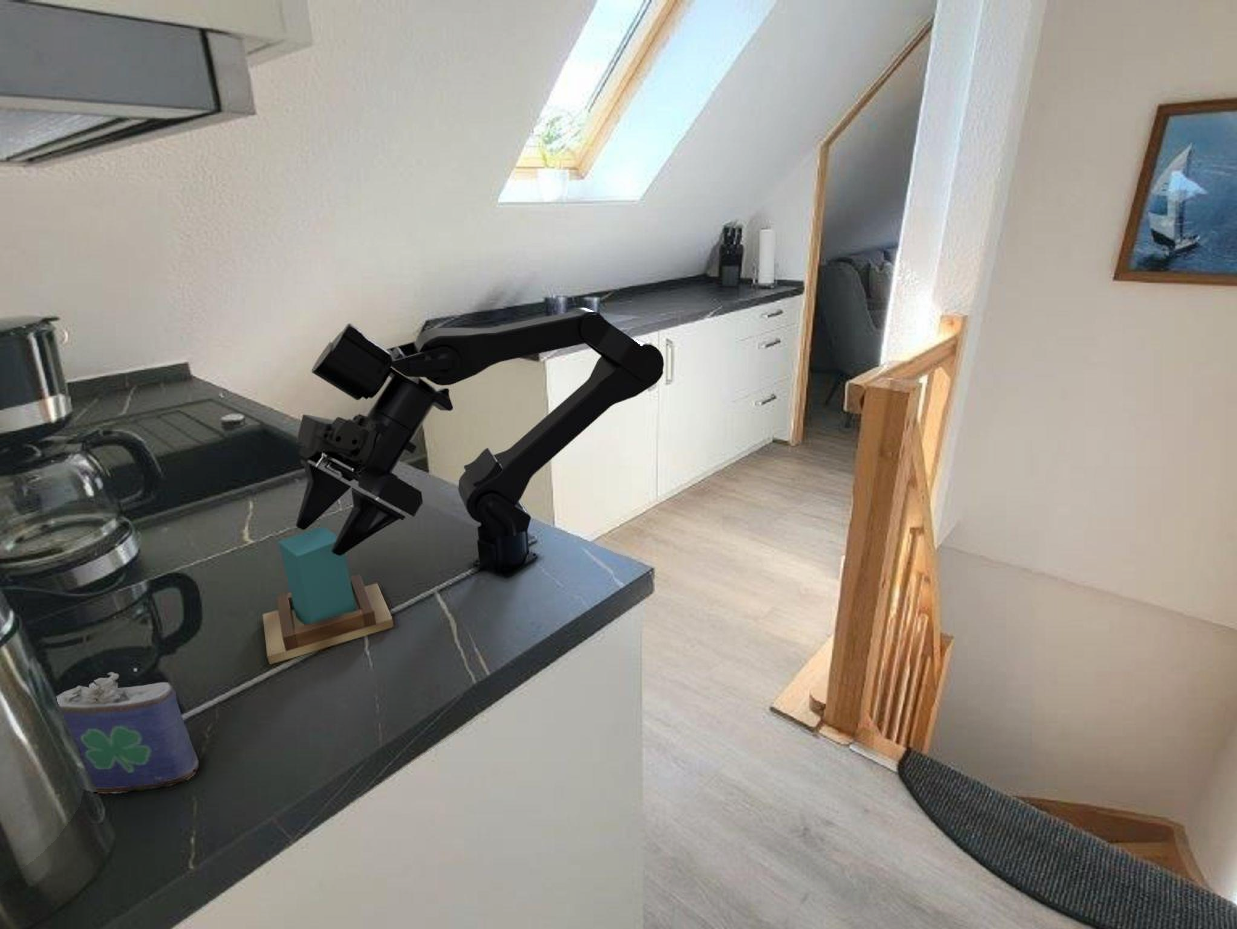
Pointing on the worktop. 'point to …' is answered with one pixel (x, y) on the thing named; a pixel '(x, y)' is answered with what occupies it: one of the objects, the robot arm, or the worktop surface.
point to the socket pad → (324, 624)
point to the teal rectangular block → (317, 576)
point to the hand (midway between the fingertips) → (317, 540)
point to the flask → (129, 734)
